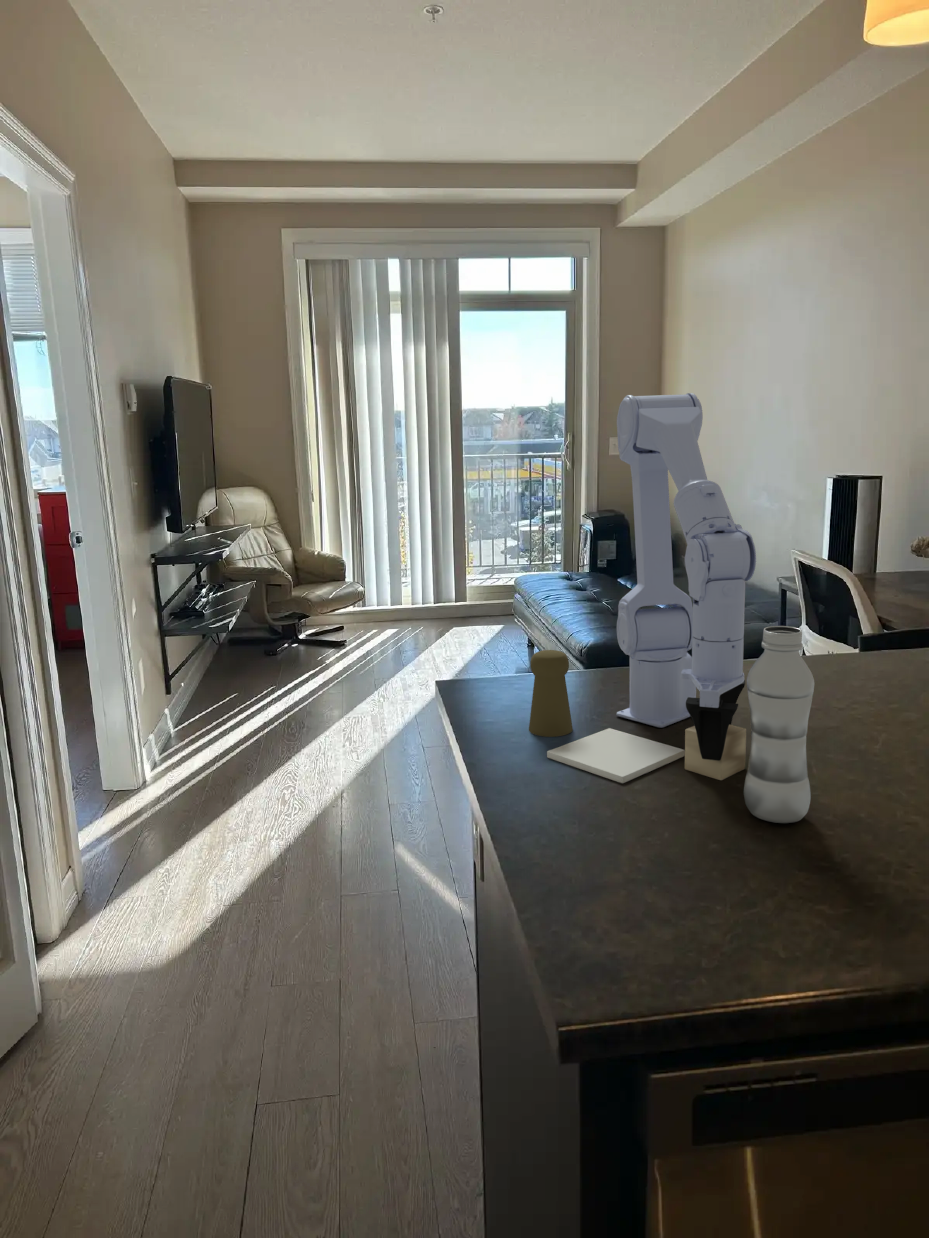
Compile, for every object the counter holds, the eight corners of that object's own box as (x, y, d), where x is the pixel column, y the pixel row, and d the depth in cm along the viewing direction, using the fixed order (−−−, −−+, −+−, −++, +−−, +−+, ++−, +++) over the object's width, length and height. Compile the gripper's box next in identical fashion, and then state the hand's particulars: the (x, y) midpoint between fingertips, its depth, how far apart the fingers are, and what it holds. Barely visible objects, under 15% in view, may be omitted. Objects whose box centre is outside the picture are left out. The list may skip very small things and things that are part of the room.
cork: (570, 737, 118) (569, 657, 116) (525, 736, 120) (524, 656, 117) (574, 722, 124) (573, 646, 122) (531, 721, 125) (530, 645, 123)
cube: (708, 758, 109) (709, 719, 108) (744, 768, 106) (746, 728, 105) (684, 769, 106) (685, 729, 105) (721, 780, 103) (722, 739, 101)
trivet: (609, 733, 119) (609, 728, 119) (684, 756, 110) (684, 749, 110) (547, 757, 112) (547, 751, 111) (622, 783, 103) (622, 776, 103)
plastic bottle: (778, 836, 88) (785, 640, 84) (728, 812, 94) (733, 628, 90) (824, 821, 91) (833, 631, 87) (773, 798, 97) (780, 619, 93)
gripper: (691, 621, 111) (689, 725, 113) (672, 649, 98) (671, 766, 100) (750, 624, 108) (747, 730, 111) (739, 653, 95) (736, 772, 98)
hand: (715, 747), depth 105 cm, fingers closed on cube, 7 cm apart
